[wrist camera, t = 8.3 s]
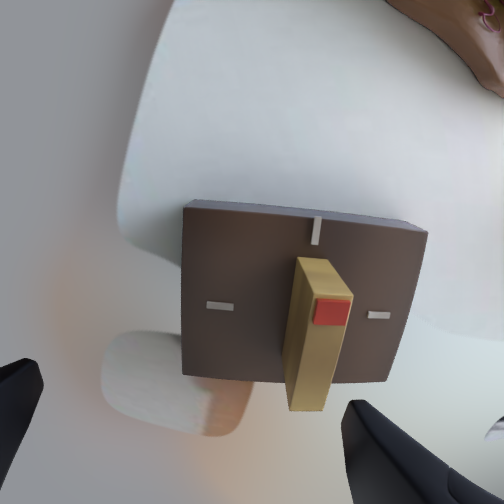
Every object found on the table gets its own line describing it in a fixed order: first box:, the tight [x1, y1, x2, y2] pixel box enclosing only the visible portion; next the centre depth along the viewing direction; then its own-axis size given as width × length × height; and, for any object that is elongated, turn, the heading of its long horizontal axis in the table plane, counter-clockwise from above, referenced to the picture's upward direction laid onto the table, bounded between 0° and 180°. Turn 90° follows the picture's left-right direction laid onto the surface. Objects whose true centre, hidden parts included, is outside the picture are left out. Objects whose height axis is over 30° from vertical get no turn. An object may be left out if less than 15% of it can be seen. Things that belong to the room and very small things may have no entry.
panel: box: [181, 199, 428, 383], centre depth 18 cm, size 13×10×3 cm
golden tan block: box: [281, 257, 353, 411], centre depth 14 cm, size 6×2×5 cm, turn 175°
